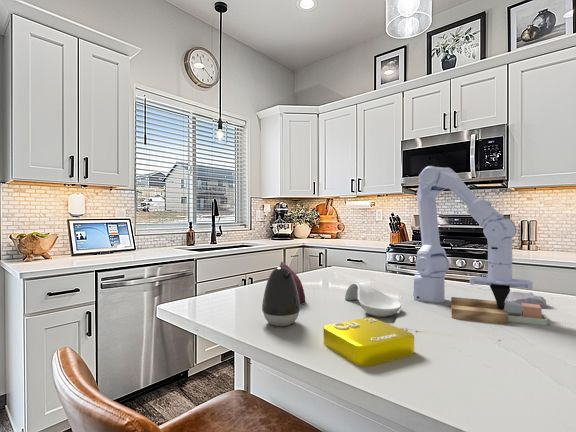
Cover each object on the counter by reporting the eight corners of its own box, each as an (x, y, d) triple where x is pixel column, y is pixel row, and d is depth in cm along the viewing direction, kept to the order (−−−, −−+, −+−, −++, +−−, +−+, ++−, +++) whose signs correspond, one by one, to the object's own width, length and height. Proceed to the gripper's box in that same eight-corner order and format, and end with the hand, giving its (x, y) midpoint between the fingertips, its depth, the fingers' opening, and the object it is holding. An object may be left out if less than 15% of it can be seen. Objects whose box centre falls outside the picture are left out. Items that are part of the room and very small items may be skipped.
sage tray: (507, 324, 91) (507, 315, 91) (503, 316, 99) (503, 308, 99) (549, 329, 87) (549, 320, 87) (542, 320, 95) (542, 311, 95)
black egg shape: (272, 332, 86) (271, 271, 86) (256, 320, 96) (256, 265, 95) (307, 326, 91) (307, 268, 91) (289, 315, 100) (288, 263, 100)
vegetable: (271, 314, 113) (258, 270, 112) (284, 302, 122) (271, 261, 122) (300, 309, 109) (287, 263, 108) (311, 297, 118) (298, 255, 117)
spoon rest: (409, 318, 98) (409, 293, 98) (373, 323, 94) (373, 296, 94) (365, 298, 120) (365, 278, 120) (334, 301, 116) (334, 280, 116)
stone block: (514, 316, 105) (551, 311, 103) (510, 300, 105) (547, 295, 103) (499, 307, 116) (531, 302, 114) (495, 293, 117) (528, 288, 115)
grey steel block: (502, 317, 93) (505, 302, 93) (499, 313, 97) (502, 299, 97) (519, 321, 92) (522, 306, 92) (516, 317, 96) (519, 303, 95)
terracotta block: (522, 321, 92) (522, 306, 92) (521, 317, 95) (521, 302, 95) (541, 323, 90) (541, 308, 90) (539, 319, 93) (539, 304, 93)
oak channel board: (451, 321, 94) (451, 308, 94) (451, 308, 107) (451, 297, 107) (507, 327, 89) (508, 314, 89) (500, 313, 101) (500, 301, 101)
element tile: (361, 370, 66) (361, 345, 66) (320, 344, 80) (319, 323, 80) (418, 355, 73) (418, 332, 73) (371, 333, 86) (371, 314, 86)
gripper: (470, 263, 95) (470, 313, 95) (535, 266, 89) (534, 319, 89) (469, 260, 101) (469, 306, 101) (529, 263, 95) (529, 312, 95)
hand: (499, 312), depth 95 cm, fingers closed, pressing on grey steel block
